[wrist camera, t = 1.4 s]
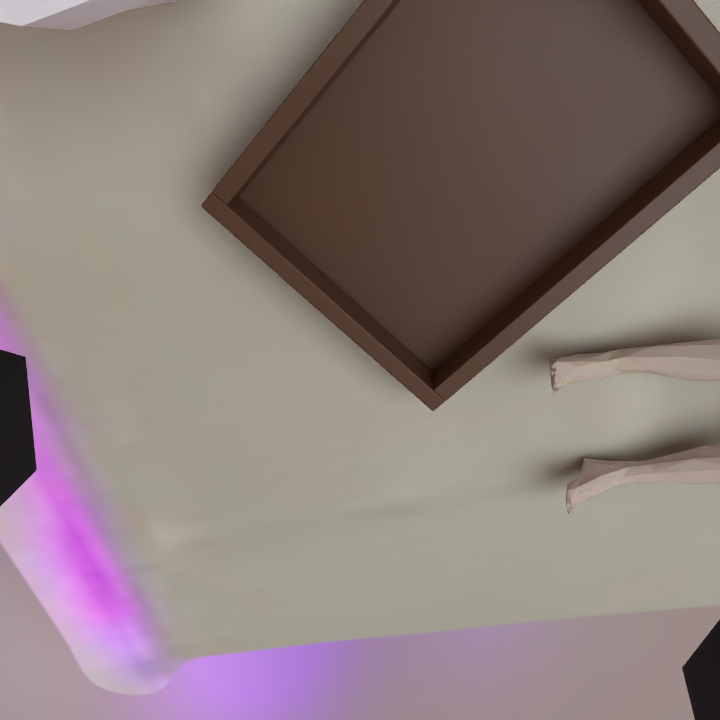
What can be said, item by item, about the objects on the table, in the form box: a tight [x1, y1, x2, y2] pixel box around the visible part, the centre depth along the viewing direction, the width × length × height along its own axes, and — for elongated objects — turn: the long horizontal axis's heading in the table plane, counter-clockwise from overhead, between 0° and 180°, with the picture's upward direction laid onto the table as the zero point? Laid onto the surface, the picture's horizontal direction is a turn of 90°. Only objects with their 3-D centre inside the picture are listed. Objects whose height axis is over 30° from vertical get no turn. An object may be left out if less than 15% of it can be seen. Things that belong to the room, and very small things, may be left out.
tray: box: [202, 0, 720, 411], centre depth 26 cm, size 18×14×3 cm
